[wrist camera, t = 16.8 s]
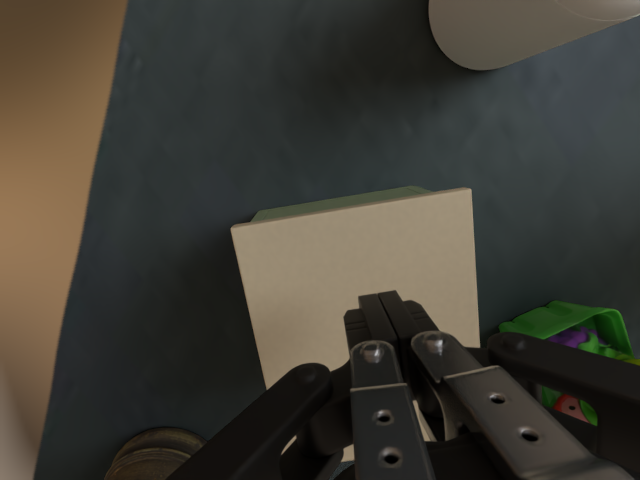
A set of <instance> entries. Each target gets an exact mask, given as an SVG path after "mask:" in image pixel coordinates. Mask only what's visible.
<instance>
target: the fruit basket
mask: <svg viewBox="0 0 640 480" xmlns="http://www.w3.org/2000/svg"><path fill="white" fill-rule="evenodd" d="M499 330H500V333H501V332H517V333H522V334H526V335H530V336H533V337H537V338H541V339H544V340H548V341H552V342H555V343H559V344H563V345H566V346H570V347H574V348H577V349H581V350H585V351H588V352H592V353H596V354H599V355H603V356H607V357H610V358H614V359H618V360H621V361H625V362H628V363H632V364H636V365H639V366H640V359H635V358H634V355H633V352H632V348H631V345H630V342H629V338H628V335H627V331H626V328H625V324H624V321H623V318H622V315H621V314H620V312H619V311H617V310H615V309H610V308H602V307H596V308H593V307H588V306H583V305H578V304H573V303H568V302H562V301H557V300H554V301H552V302H550V303H549V304H548V305H546V307H539V308H536V309H534V310H531V311H529V312H527V313H524V314H522V315H520V316H518V317H516V318H515V319H514V320H512V322H510V321H509V322H504V323H502V324H500V325H499ZM542 404H543V405H545V406H548V407H550V408H553V409H555V410H558V411H560V412H563V413H565V414H568V415H570V416H573V417H575V418H578V419H580V420H583V421H585V422H588V423H590V424H593V425H595V426H597V414H596V412H595V411H594V409H593V408H592V407H591V406H590V405H589V404H587V403H586V402H584V401H583V400H580V399H578V398H575V397H572V396H569V395H567V394H564V393H561V392H558V391H555V390H553V389H550V388H547V387H544V386H542Z"/></svg>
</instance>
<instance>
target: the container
mask: <svg viewBox="0 0 640 480" xmlns="http://www.w3.org/2000/svg"><path fill="white" fill-rule="evenodd" d="M206 443H207V441H206V440H205V439H203V438H202V437H200V436H199V435H197V434H194V433H192V432H190V431H187V430H183V429H178V428H156V429H151V430H148V431H145V432H142V433H140V434H138V435H137V436H135V437H134V438H132V439H131V440H130V441H128V442H127V443H126V444H125V445H124V446H123V447H122V448H121V449H120V451H119V452H118V453H117V455H116V456H115V458H114V460H113V463H112V466H111V468H110V469H109V470H108V472H107V474H106V476H105V479H104V480H164V479H166V478H167V477H168V476H169V475H170V474H171V473H173V472H174V471H175V470H176V469H177V468H178V467H179V466H181V465H182V464H183V463H184V462H185V461H186V460H187V459H189V458H190V457H191V456H192V455H193V454H194V453H195V452H197V451H198V450H199V449H200V448H201V447H202V446H203V445H205V444H206Z"/></svg>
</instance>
